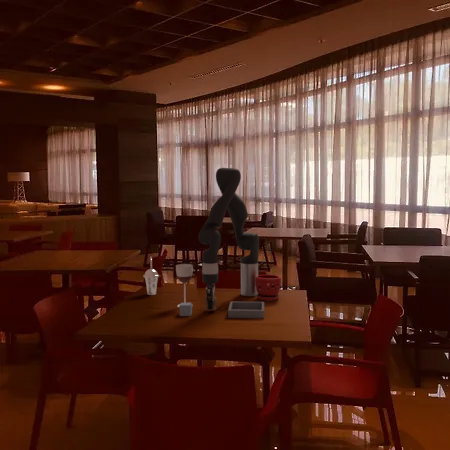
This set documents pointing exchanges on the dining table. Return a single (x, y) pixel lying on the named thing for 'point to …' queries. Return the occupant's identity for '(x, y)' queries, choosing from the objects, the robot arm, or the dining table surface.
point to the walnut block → (212, 303)
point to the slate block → (185, 309)
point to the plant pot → (268, 287)
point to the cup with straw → (151, 280)
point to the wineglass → (184, 275)
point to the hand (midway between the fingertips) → (210, 307)
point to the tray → (246, 310)
